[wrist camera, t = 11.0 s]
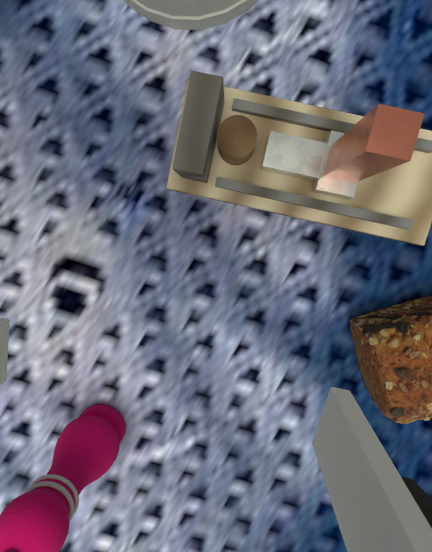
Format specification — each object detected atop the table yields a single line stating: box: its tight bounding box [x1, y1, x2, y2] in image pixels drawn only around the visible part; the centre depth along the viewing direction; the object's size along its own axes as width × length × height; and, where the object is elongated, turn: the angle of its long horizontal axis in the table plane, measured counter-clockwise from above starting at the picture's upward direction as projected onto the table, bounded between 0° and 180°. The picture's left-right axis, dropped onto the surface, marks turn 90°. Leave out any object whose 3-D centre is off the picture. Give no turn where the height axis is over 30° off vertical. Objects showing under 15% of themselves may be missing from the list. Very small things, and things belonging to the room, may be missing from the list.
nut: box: [217, 115, 257, 165], centre depth 36 cm, size 4×4×4 cm
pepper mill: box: [0, 404, 125, 552], centre depth 35 cm, size 7×7×20 cm
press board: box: [167, 70, 432, 245], centre depth 36 cm, size 30×12×8 cm, turn 78°
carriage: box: [261, 104, 424, 200], centre depth 31 cm, size 10×6×14 cm, turn 77°
